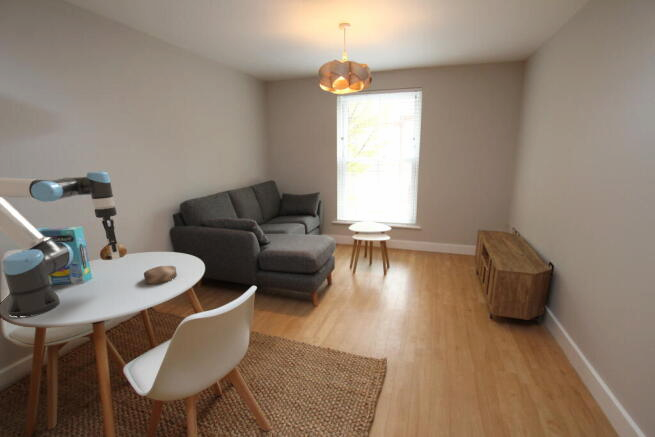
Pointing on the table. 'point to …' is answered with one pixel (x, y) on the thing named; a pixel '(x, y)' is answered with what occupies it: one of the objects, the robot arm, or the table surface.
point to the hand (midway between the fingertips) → (114, 255)
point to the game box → (80, 264)
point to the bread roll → (106, 252)
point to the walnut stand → (160, 274)
